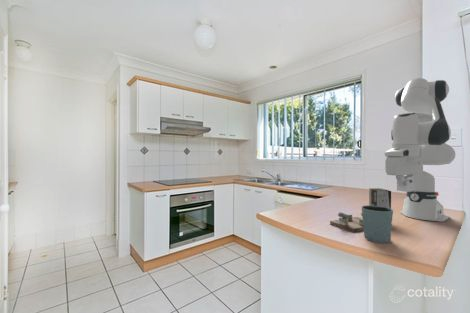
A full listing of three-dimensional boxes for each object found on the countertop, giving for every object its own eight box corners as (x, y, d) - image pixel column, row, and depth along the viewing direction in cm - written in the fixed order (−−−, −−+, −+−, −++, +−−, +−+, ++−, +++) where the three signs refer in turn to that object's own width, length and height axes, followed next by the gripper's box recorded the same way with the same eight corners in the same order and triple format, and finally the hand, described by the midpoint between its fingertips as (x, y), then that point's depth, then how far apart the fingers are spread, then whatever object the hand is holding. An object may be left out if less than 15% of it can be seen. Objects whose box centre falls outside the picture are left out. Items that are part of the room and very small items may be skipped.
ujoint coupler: (401, 189, 92) (401, 175, 92) (414, 191, 88) (414, 176, 88) (396, 190, 90) (396, 176, 90) (408, 192, 86) (408, 177, 86)
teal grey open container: (399, 242, 80) (399, 210, 80) (378, 245, 77) (378, 212, 77) (374, 233, 90) (374, 204, 90) (355, 235, 87) (355, 205, 87)
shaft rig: (358, 219, 110) (358, 205, 110) (382, 226, 99) (382, 211, 99) (328, 224, 101) (328, 209, 101) (351, 232, 90) (351, 215, 90)
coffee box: (391, 225, 101) (391, 190, 101) (376, 224, 102) (376, 190, 102) (382, 219, 110) (382, 188, 110) (368, 219, 111) (368, 187, 111)
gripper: (410, 152, 96) (410, 183, 96) (382, 152, 88) (381, 186, 88) (428, 152, 90) (427, 185, 91) (399, 151, 82) (399, 188, 82)
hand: (405, 185), depth 89 cm, fingers closed on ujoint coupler, 4 cm apart
